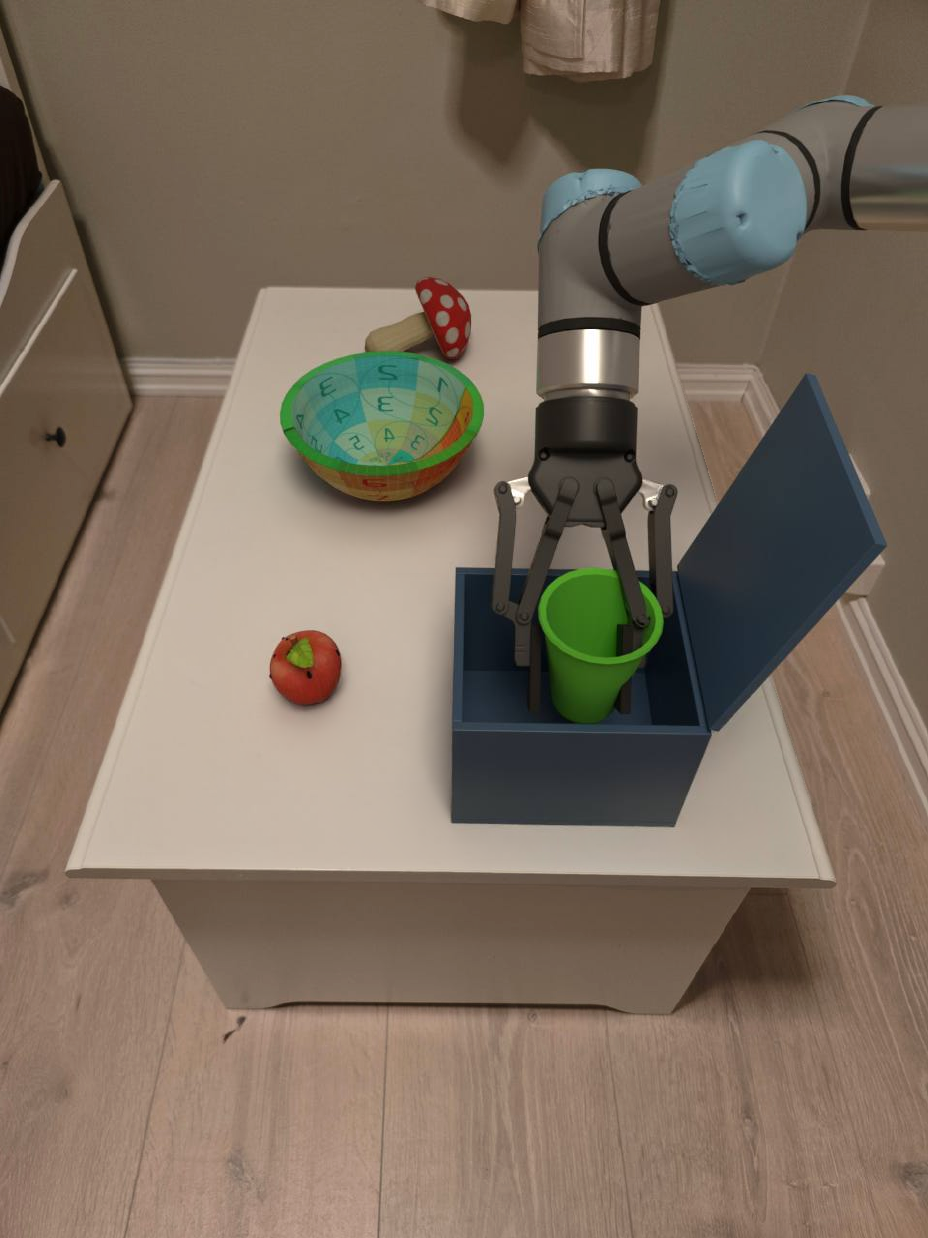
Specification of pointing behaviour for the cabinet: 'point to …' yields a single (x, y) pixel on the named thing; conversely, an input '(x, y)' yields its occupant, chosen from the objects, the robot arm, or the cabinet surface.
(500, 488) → the robot arm
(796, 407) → the lid
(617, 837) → the cabinet surface
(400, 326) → the decorative mushroom
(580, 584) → the cup
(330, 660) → the apple
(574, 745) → the box
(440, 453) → the bowl
